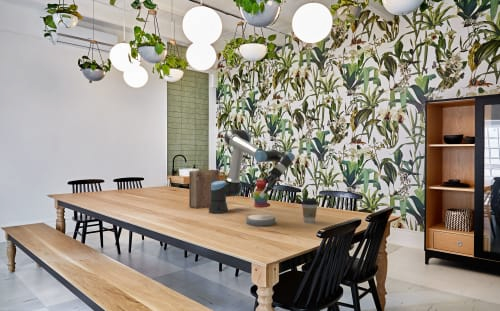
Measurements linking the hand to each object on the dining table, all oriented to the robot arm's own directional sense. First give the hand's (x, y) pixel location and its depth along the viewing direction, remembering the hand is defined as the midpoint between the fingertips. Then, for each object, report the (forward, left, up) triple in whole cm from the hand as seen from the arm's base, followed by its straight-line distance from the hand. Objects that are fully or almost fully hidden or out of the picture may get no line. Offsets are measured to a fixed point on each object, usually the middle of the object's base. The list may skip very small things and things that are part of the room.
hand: (257, 195), depth 228 cm
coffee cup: (+26, +25, -19) cm, 41 cm away
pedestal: (+1, +3, -18) cm, 19 cm away
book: (-73, +33, -19) cm, 82 cm away
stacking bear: (+1, +3, -8) cm, 8 cm away
